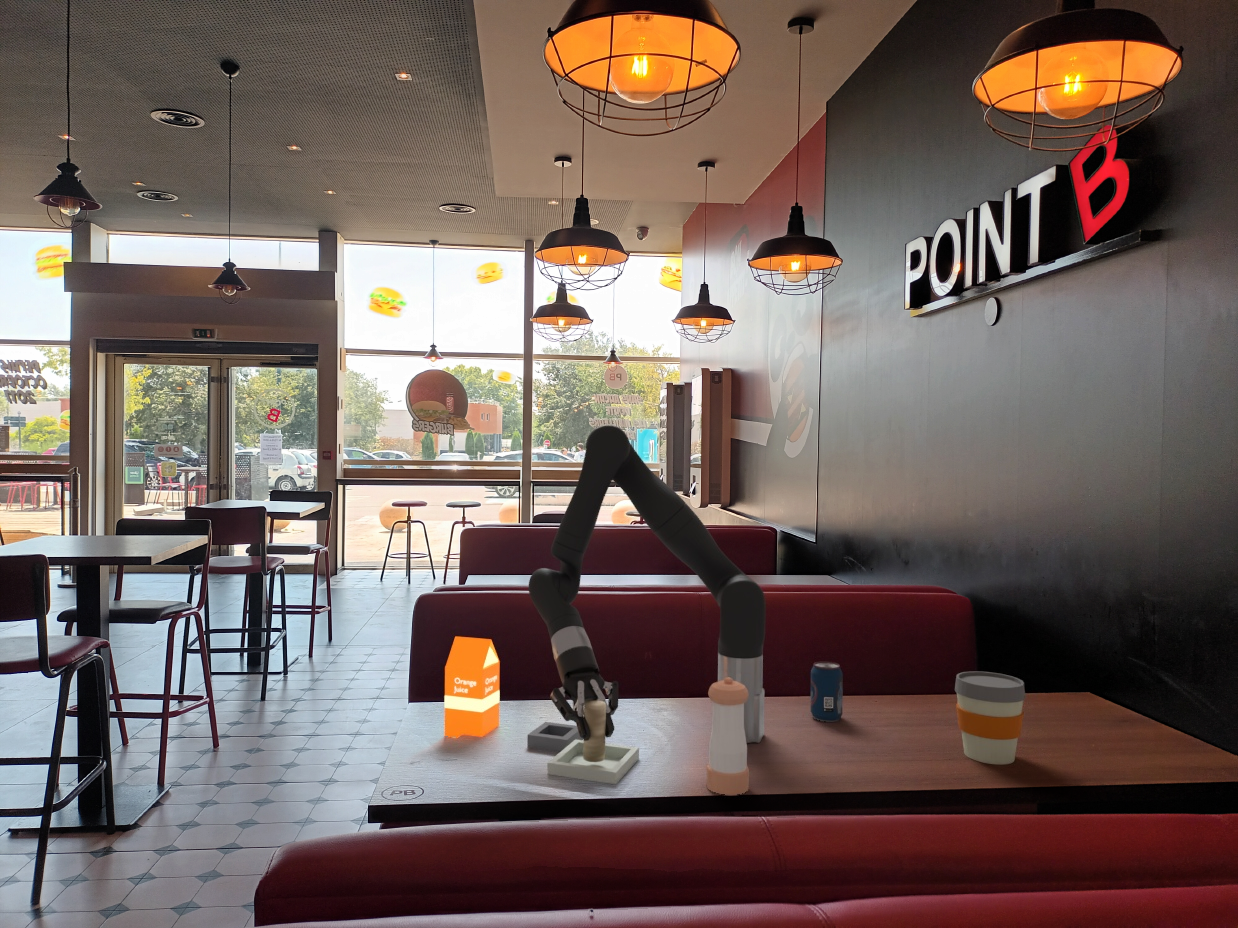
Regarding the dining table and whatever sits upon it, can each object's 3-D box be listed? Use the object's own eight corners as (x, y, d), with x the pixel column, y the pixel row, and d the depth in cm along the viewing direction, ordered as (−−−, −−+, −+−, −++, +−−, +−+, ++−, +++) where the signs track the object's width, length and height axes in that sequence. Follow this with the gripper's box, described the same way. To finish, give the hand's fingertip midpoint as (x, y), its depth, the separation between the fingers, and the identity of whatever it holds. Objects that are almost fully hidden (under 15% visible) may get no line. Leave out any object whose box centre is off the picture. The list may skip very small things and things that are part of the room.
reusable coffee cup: (940, 749, 159) (940, 674, 159) (986, 741, 164) (986, 668, 164) (992, 771, 147) (992, 690, 147) (1040, 762, 152) (1040, 684, 152)
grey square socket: (583, 743, 160) (583, 726, 161) (566, 757, 153) (567, 739, 153) (545, 738, 163) (545, 721, 163) (527, 752, 155) (527, 734, 155)
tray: (638, 763, 150) (639, 747, 150) (615, 789, 138) (615, 772, 138) (575, 754, 154) (575, 739, 154) (547, 779, 142) (547, 762, 142)
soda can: (809, 712, 182) (809, 660, 182) (840, 713, 181) (840, 661, 181) (812, 721, 175) (812, 667, 176) (844, 723, 175) (844, 668, 175)
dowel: (606, 754, 148) (607, 700, 148) (603, 762, 144) (604, 707, 144) (584, 753, 148) (585, 699, 148) (581, 761, 144) (582, 706, 144)
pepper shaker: (702, 791, 137) (702, 680, 137) (712, 776, 144) (713, 670, 144) (743, 798, 135) (744, 685, 135) (752, 782, 141) (753, 674, 142)
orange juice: (481, 741, 161) (482, 643, 161) (443, 736, 164) (444, 639, 164) (499, 729, 169) (500, 635, 169) (463, 725, 172) (463, 632, 172)
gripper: (544, 647, 150) (568, 732, 139) (612, 641, 156) (640, 721, 145) (534, 669, 155) (557, 752, 144) (601, 662, 161) (627, 741, 150)
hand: (598, 736), depth 144 cm, fingers closed on dowel, 3 cm apart
